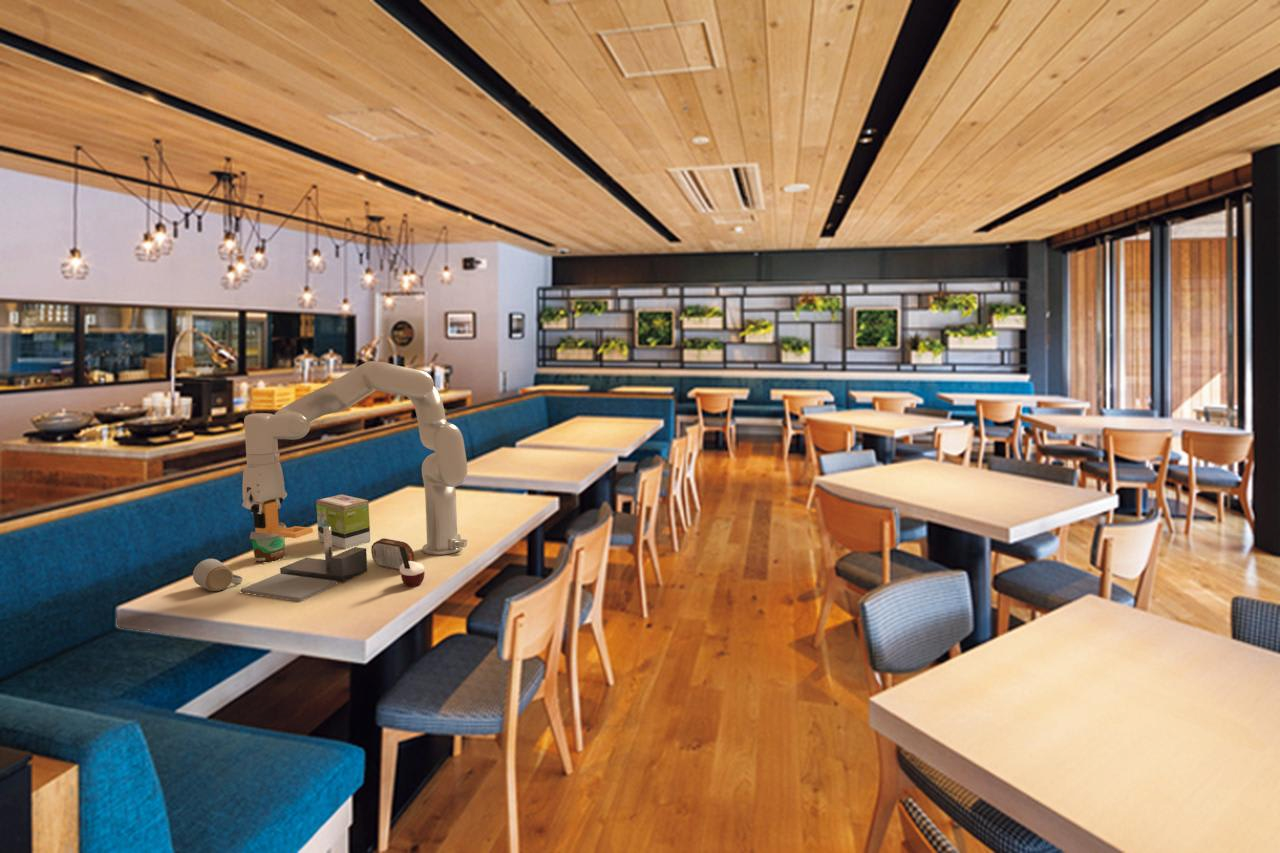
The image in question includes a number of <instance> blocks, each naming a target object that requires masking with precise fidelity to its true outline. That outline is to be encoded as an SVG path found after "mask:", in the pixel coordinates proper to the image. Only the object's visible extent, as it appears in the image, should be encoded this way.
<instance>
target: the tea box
mask: <svg viewBox="0 0 1280 853" xmlns="http://www.w3.org/2000/svg"><path fill="white" fill-rule="evenodd" d="M315 506H316V519H317V534H318V541H319V542H321V543H324V530H323V527H325V526H331V536H332V546H334V547H339V548H341V549H343V550H346V548H347V549H351V548H354V547H357V546H360V545H359V544H361V545H363V544H362V543H364V544H366V542H367V543H370V542H371V525H370V509H369V506H370V504H369V500H368V499H363V498H359V497H354V496H349V495H347V494H337V495H333V496H329V497H325V498H320V499H316V500H315ZM369 541H370V542H369ZM356 545H357V546H356ZM353 546H354V547H353ZM350 547H351V548H350Z"/></svg>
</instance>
